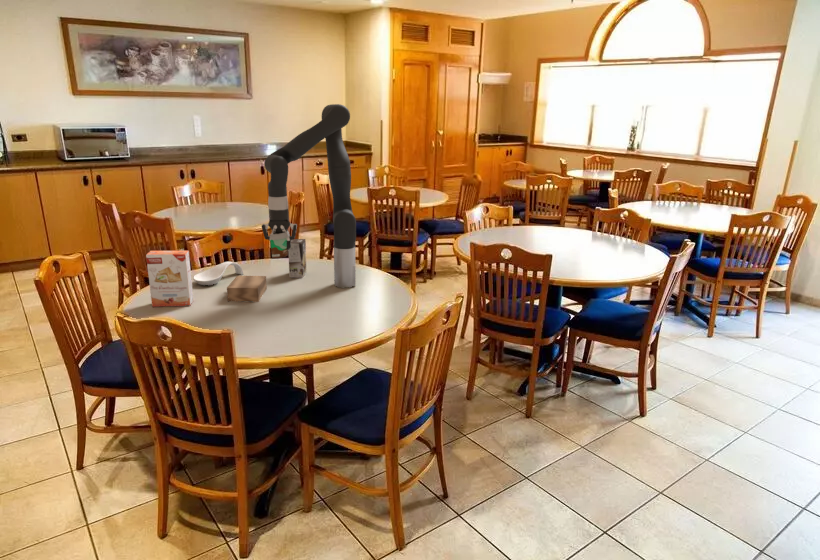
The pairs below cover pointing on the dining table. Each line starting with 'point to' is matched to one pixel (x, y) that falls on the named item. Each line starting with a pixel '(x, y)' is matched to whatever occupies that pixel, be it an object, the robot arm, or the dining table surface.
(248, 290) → the walnut block
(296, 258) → the coffee box
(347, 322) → the dining table surface
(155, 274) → the cracker box
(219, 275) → the spoon rest
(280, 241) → the food container
